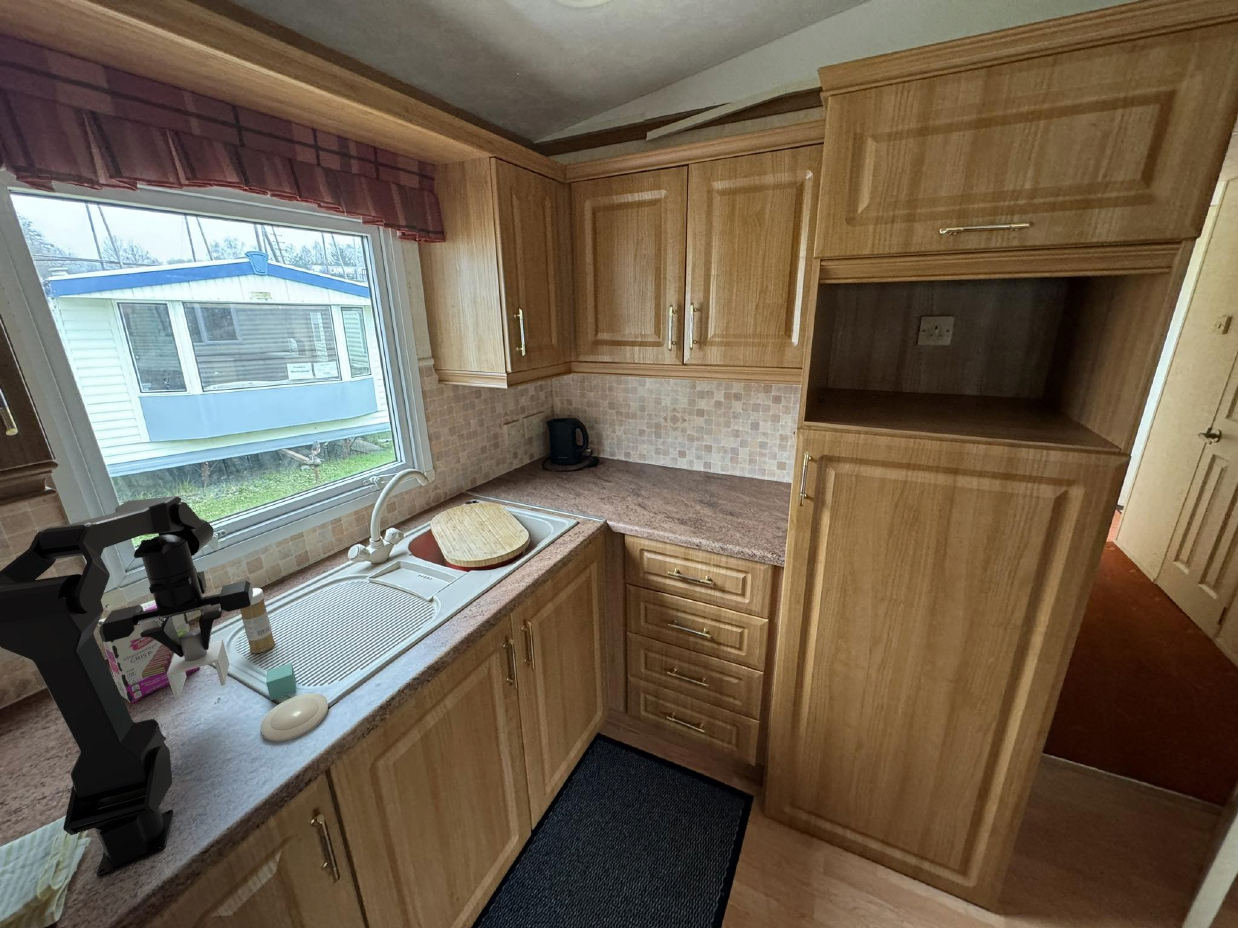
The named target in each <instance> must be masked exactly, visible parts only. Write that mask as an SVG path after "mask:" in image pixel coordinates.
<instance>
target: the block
mask: <svg viewBox="0 0 1238 928" xmlns="http://www.w3.org/2000/svg"><path fill="white" fill-rule="evenodd" d="M293 665H294V664H293V663H292V662H290V663H286V664H283V665H280V666H278V667H274V668H271V669H270V668H269V669H267V670H266V680H265V682H266V683H265V684H266V688H267V692H268V695H269V699H270V701H273V700H275V699H278V698H282V697H285V696H288V695H291V694H293V693H296V692H297V678H296V674H295V670H294V666H293Z"/></svg>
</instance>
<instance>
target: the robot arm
mask: <svg viewBox="0 0 1238 928" xmlns="http://www.w3.org/2000/svg"><path fill="white" fill-rule="evenodd" d="M114 510H115V512H113V513H109V514H104V515H100V516H97V517H93V518H90V519H85V520H82V521H77V522H73V523H69V524H65V525H56V526H49V527H47V528H45V529H41V530H39V531H38V532H37V533H36V534H35V536H34V537H33V539H32V541H31V544H30V546H29V548H27V549H26V550H25V551H24V552H22V553H20V555H19V556H17V557H16V558H15V559H14V560H12V561H11V562H10V563H9V564H7V565H6V566H5V567H3V568H2V569H1V570H0V648H1V649H3V650H6V651H7V652H8V651H9V652H11V653H13V654H16V655H18V656H21V657H24V658H25V659H28V660H30V661H32V662H33V664H34V666H35V667H36V670H37V671H38V673H39V676H40V677H41V678H42V680H43V683H44V685H45V686H46V689H47V690H48V693H49V694H50V696H51V698H52V700H53V702H54V704H55V705H56V708H57V710H58V711H59V713H60V715H61V717H62V719H63V721H64V723H65V724H66V726H67V728H68V730H69V732H70V735H71V736H72V739H74V742H75V743H76V745H77V747H78V750H79V754H78V756H77V759H76V761H75V763H74V765H73V767H72V770H71V771H70V774H69V775H70V779H71V782H72V787H71V792H70V795H69V799H68V805H67V809H66V813H65V818H64V822H63V827H62V829H63V831H64V832H66V833H67V834H68V835H69V836H75V835H77V834H79V833H81V832H85V831H89V830H93V829H95V832H96V835H97V837H98V840H99V842H100V844H101V845H100V846H102V847H101V848H102V849H103V851H104V852H103V855H102V857H101V860H100V863H99V865H98V867H97V870H96V877H97V878H102V877H105V876H107V875H109V874H111V873H114V872H115V871H116V872H117V871H118V870H120V869H123V868H125V867H127V866H130V865H132V864H135V863H137V862H140V861H143V860H144V859H146V858H148V857H150V856H153V855H155V854H157V853H160V852H162V851H163V850H165V848H166V846H167V844H168V843H167V842H168V839H169V834H170V830H171V825H172V821H173V818H174V815H175V812H174V810H173V809H168V810H166V811H163V812H162V811H161V808H160V806H161V803H162V802H163V800H164V799H165V798H166V795H167V793H168V792H169V790H170V788H171V786H172V785H173V773H172V760H171V750H170V748H169V746H168V745H167V744H166V743H165V742H166V739H167V737H166V736H165V735H164V734H163V733H162V731H161V728H160V724H159V722H158V721H157V720H156V719H154V718H150V719H146V720H145V719H144V720H142V721H138V722H137V721H136V722H135V721H134V720H133V718H132V715H131V714H130V712H129V709H128V708H127V705H126V703H125V701H124V698H123V697H122V696H121V694H120V692H119V690H118V688H117V685H116V682H115V679H114V676H113V673H112V671H111V670H110V667H109V665H108V664H107V662H106V659H105V657H104V655H103V653H102V650H101V648H100V646H99V644H98V642H97V640H96V637H95V633H94V632H95V630H96V629H97V624H98V622H99V620H101V619H102V618H101V617H102V615H103V613H104V607H103V603H102V599H103V596H104V593H105V590H106V588H107V585H108V583H109V580H110V576H111V573H110V572H109V570H108V568H107V566H106V564H105V562H104V560H103V559H102V554H103V551H104V550H105V548H109V547H111V546H115V545H117V544H120V543H123V542H126V541H129V540H131V539H135V538H138V537H141V536H148V535H149V536H150V535H157V536H153V537H152V538H148V539H142V540H141V541H140V545H139V546H138V547H137V548H136V549H135V551H134V554H133V558H135V559H139V558H140V559H142V562H143V563H142V564H143V566H144V569H145V574H146V576H147V579H148V582H149V587H148V589H149V592H150V594H152V596H153V600H154V599H155V603H156V606H157V608H155V609H151V610H146V611H144V610H143V607H142V606H141V604H137V605H136V604H135V605H132V606H128V607H124V608H119V609H114V610H111V611H110V613H108V615H107V616H106V617H105V618H106V619H105V620H104V622H103V623H102V625H101V626H100V627H99V630H98V633H99V636H100V639H101V641H102V642H109V641H113V640H117V639H121V638H125V637H129V636H130V635H131V634H132V632H133V631H134V630H135V627H134V626H135V625H140V628H141V631H142V632H141V634H140V636H141V637H151V638H152V639H154V640H156V641H158V642H160V643H161V644H163V645H165V646H166V647H167V648H169V649H170V650H171V651H173V652H174V653H175V654H176V655H178V656H179V657H183V656H184V655H183V652H182V649H181V645H180V642H179V639H178V638H179V636H178V634H177V632H176V630H175V627H174V625H173V619H172V616H176V615H180V614H184V613H186V614H187V613H193V612H197V611H200V616H199V619H198V625H199V630H200V632H201V637H202V643H203V646H204V648H205V650H208V649H209V644H210V643H211V637H212V632H213V631H212V630H213V624H214V621H216V620H217V619H221V618H222V617H223V613H224V611H225V612H228V613H229V612H233V611H237V610H240V609H242V608H246V607H248V606H250V605H251V602H252V596H253V586H252V584H251V582H250V581H248V580H243V581H239V582H234V583H229V584H226V585H225V584H224V585H223V586H222V587H221V590H220V592H217V593H213V594H209V595H205V596H203V594H206V591H207V587H208V586H207V580H206V575H205V571H204V570H202V571H197V570H198V569H197V568H196V565H195V564H194V560H193V556H195V555H196V554H197V553H198V552H200V551H201V550H202V549H203V548H204V547H205V546H206V545H207V544H208V543H209V542H210V541H211V540H212V538H213V537H214V532H215V531H214V527H213V526H212V525H211V524H210V523H209V522H208V521H207V520H206V519H203V518H200V517H199V516H198V515H197V514H196V512H195V511H194V510H193V509H192V508H191V507H190V506H189V505H188V503H187V502H186V501H182V497H180V496H178V495H173V496H163V497H162V496H161V497H154V498H143V499H134V500H128V501H126V502H124V503H122V504H120V505H118V506H116V507H115V509H114ZM82 556H83V557H84V559H85V562H86V563H85V566H84V568H83V571H82V573H81V574H80V573H75V574H68V575H62V576H61V575H60V576H54V577H47V578H45V577H44V578H39V577H41V576H42V575H43V574H44V573H45V572H46V571H48V570H49V569H50V568H51V567H52V566H53V565H54V564H55V563H56V561H57V560H59V559H67V558H74V557H82ZM38 578H39V579H38ZM102 642H101V643H102Z"/></svg>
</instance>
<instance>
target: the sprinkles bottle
mask: <svg viewBox="0 0 1238 928" xmlns="http://www.w3.org/2000/svg"><path fill="white" fill-rule="evenodd" d="M252 589H253V596H252V602H251V605H250V606H248V607H246V608H242V609H239V610H240V611H239V612H240V615H241V620H242V623H243V624H242V625H243V628H244V631H245V634H246V635H245V636H246V639H247V642H248V645H249V651H250V653H252V654H260V653H264V652H267V651H269V650H270V649H272V648H273V647H274V646H275V645H276V640H275V639H274V636H273V632H272V625H271V622H270V617H269V615H268V610H267V607H266V603H265V595H264V591H263V589H261V588H258V587H252Z"/></svg>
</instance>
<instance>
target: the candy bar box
mask: <svg viewBox="0 0 1238 928" xmlns="http://www.w3.org/2000/svg"><path fill="white" fill-rule="evenodd" d="M140 605H141V606H142V607H143V610H144V611H146V610H151V609H155V608H157V606H156V603H155V599H154V598H153V599H152V600H149V601H147V602H144V603H141V604H140ZM105 619H106V617H104V618H100V620H99V622H98V624H97V626H96V629H97V631H99V627H100V626H101V625H102V623H103V622H104V620H105ZM172 619H173V625H174V627H175V630H176V632H177V634H178V636H181V635H182V634H184V633H186V632H188V631H191V627H190V625H189V621H188V616H187V613H184V614H180V615H176V616H172ZM134 627H135V630H134V631H133V632H132V634H131V635H130V636H129V637H125V638H121V639H117V640H113V641H109V642H101V643H102V646H103V648H104V652H105V654H106V657H107V660H108V662H109V668H110V669H111V670H110V671H111V674H112V677H113V679H114V681H115V683H116V685H117V688H118V690H119V692H120V694H121V696H122V698H123V700H124V699H125V701H127V702H128V703H129V704H134V703H136V702H138V701H140V700H142V699H143V698H145V697H147V696H149V695H151V694H153V693H155V692H157V691H158V690H160V689H161V690H162V689H163V688H165V687H167V686H169V685H170V682H169V679H168V676H167V672H168V669H169V667H170V664H171V662H172V659H173V657H174V654H175V653H174V652H173V651H171V650H170V649H169V648H167V647H166V646H165V645H163V644H161V643H160V642H158V641H156V640H154V639H152V638H151V637H141V636H140V634H141V632H142V631H141V628H140V625H135V626H134ZM200 669H201V667H198V668H195V669H191V670H188V671H185V673H186V676H188V675H191V674H192V673H194V672H196V671H198V670H200Z"/></svg>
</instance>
